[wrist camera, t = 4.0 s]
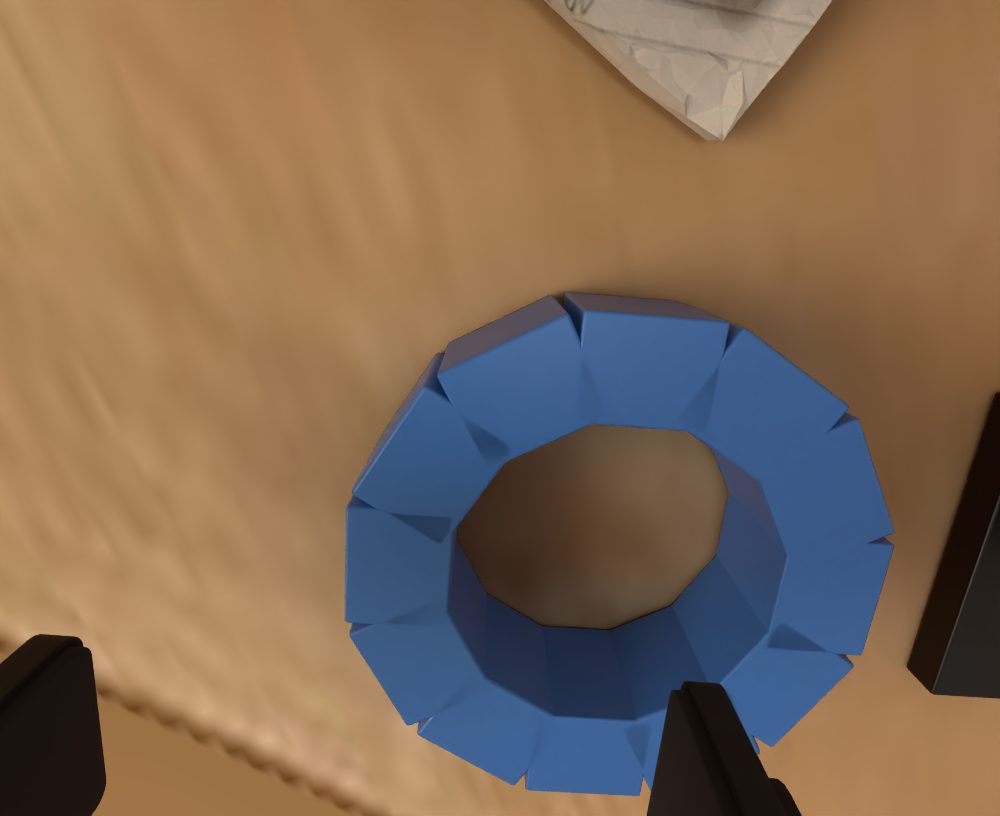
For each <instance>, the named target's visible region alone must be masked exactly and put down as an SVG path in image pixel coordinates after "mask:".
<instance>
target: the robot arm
mask: <svg viewBox="0 0 1000 816" xmlns="http://www.w3.org/2000/svg"><path fill="white" fill-rule="evenodd" d="M105 786H106V773H105V764H104V756H103V747H102V738H101V730H100V722H99V712H98V705H97V695H96V687H95V678H94V669H93V661H92V654H91V651H90V650H89V648H86V647H84V646H83V643H82V641H81V640H80V638H78V637H73V636H60V635H46V634H39V635H35V636H33V637H32V638H30V639H29V640H28V641H26V642H25V643H24V644H23V645H22V646H21V647H19V648H18V649H17V650H16V651H15V652H14V653H12V654H11V655H10V656H9V657H8V658H7V659H5V660H4V661H3V662H2V663H1V664H0V816H91V815H92V814H93V812H94V811H95V810H96V808H97V806H98V805H99V803H100V801H101V799H102V797H103V793H104V790H105ZM647 816H802V815H801V813H800V811H799V810H798V808H797V806H796V804H795V802H794V800H793V798H792V796H791V794H790V793H789V791H788V789H787V788H786V786H785V785H784V784H783V783H782V782H781V781H780V780H778V779H775V778H768V776H767V774H766V772H765V770H764V768H763V766H762V764H761V762H760V760H759V757H758V755H757V753H756V751H755V749H754V747H753V745H752V743H751V741H750V739H749V737H748V735H747V733H746V731H745V729H744V727H743V725H742V723H741V721H740V719H739V717H738V715H737V713H736V711H735V709H734V707H733V705H732V703H731V701H730V699H729V697H728V695H727V693H726V691H725V689H724V687H723V686H722V685H721V684H719V683H710V682H697V681H684V682H683V684H682V686H681V689H680V690H672V691H671V693H670V696H669V702H668V707H667V712H666V717H665V722H664V728H663V733H662V738H661V743H660V749H659V754H658V759H657V764H656V770H655V775H654V780H653V785H652V790H651V796H650V801H649V806H648V811H647Z"/></svg>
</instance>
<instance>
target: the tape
mask: <svg viewBox="0 0 1000 816" xmlns="http://www.w3.org/2000/svg"><path fill="white" fill-rule="evenodd" d="M848 408H849V407H848V405H847V404H846V403H845V402H843V401H842V400H841V399H839V398H838V397H837V396H835V395H834V394H833V393H832V392H830V391H829V390H828V389H826V388H825V387H824V386H822V385H821V384H820V383H818V382H817V381H816V380H814V379H813V378H812V377H810V376H809V375H808V374H806V373H805V372H804V371H802V370H801V369H800V368H798V367H797V366H796V365H794V364H793V363H792V362H790V361H789V360H788V359H786V358H785V357H784V356H782V355H781V354H780V353H778V352H777V351H776V350H774V349H773V348H772V347H771V346H769V345H768V344H767V343H765V342H764V341H763V340H761V339H760V338H759V337H757V336H756V335H755V334H753V333H752V332H751V331H749V330H748V329H746V328H744V327H741V326H739V325H736V324H734V323H731V322H729V321H726V320H724V319H721V318H719V317H716V316H714V315H711V314H709V313H706V312H704V311H701V310H699V309H696V308H694V307H690V306H688V305H685V304H683V303H680V302H678V301H670V300H658V299H646V298H634V297H622V296H610V295H598V294H586V293H574V292H565V293H564V297H563V306H561V305H560V304H559V303H558V302H557V300H556V299H555V298H554V297H553V296H552V295H549V296H547V297H545V298H542V299H540V300H538V301H536V302H534V303H532V304H530V305H528V306H526V307H523V308H521V309H519V310H517V311H515V312H513V313H511V314H509V315H507V316H504V317H502V318H500V319H498V320H496V321H494V322H492V323H490V324H488V325H485V326H483V327H481V328H479V329H477V330H475V331H473V332H471V333H468V334H466V335H464V336H462V337H460V338H458V339H456V340H454V341H452V342H450V343H449V344H448V347H447V349H446V352H445V355H443V354H442V353H437V354H436V355H435V357H434V358H433V360H432V361H431V363H430V364H429V366H428V367H427V369H426V370H425V372H424V373H423V375H422V376H421V377H420V379H419V380H418V382H417V383H416V385H415V386H414V388H413V389H412V391H411V392H410V394H409V395H408V397H407V398H406V400H405V401H404V403H403V404H402V406H401V407H400V409H399V410H398V412H397V413H396V414H395V416H394V417H393V419H392V420H391V422H390V423H389V425H388V426H387V428H386V429H385V431H384V432H383V434H382V435H381V437H380V438H379V440H378V442H377V444H376V446H375V448H374V450H373V452H372V453H371V455H370V457H369V459H368V461H367V463H366V465H365V467H364V469H363V470H362V472H361V474H360V476H359V478H358V480H357V482H356V484H355V486H354V487H353V490H352V493H353V496H352V498H351V500H350V502H349V504H348V506H347V508H346V561H345V621H346V622H348V623H353V624H352V627H351V630H350V633H349V634H350V637H351V639H352V640H353V642H354V644H355V645H356V647H357V648H358V650H359V651H360V653H361V655H362V656H363V658H364V659H365V661H366V662H367V664H368V665H369V667H370V669H371V670H372V672H373V673H374V675H375V676H376V678H377V680H378V681H379V683H380V684H381V686H382V687H383V689H384V690H385V692H386V694H387V695H388V697H389V698H390V700H391V701H392V703H393V705H394V706H395V708H396V709H397V711H398V712H399V714H400V715H401V717H402V719H403V720H404V722H405V723H406V725H412V724H414V723H417V722H419V724H418V731H417V733H418V735H419V736H421V737H423V738H425V739H426V740H428V741H430V742H432V743H434V744H436V745H438V746H440V747H441V748H443V749H445V750H447V751H449V752H451V753H453V754H455V755H456V756H458V757H460V758H462V759H464V760H466V761H468V762H470V763H471V764H473V765H475V766H477V767H479V768H481V769H483V770H485V771H486V772H488V773H490V774H492V775H494V776H496V777H498V778H500V779H501V780H503V781H505V782H507V783H509V784H511V785H515V784H516V783H517V782H518V781H519V779H520V778H521V777H522V776H523V775H524V774H525V787H526V790H534V791H553V792H571V793H590V794H609V795H627V796H639V795H640V791H641V786H642V781H643V777H644V779H645V781H646V783H647V785H648V787H649V789H650V790H652V785H653V780H654V775H655V770H656V764H657V759H658V754H659V749H660V743H661V738H662V733H663V728H664V722H665V717H666V712H667V707H668V702H669V696H670V693H671V691H672V690H680V689H681V686H682V684H683V682H684V681H697V682H710V683H719V684H721V685H722V686H723V687H724V689H725V691H726V693H727V695H728V697H729V699H730V701H731V703H732V705H733V707H734V709H735V711H736V713H737V715H738V717H739V719H740V721H741V723H742V725H743V727H744V729H745V731H746V733H747V735H748V737H749V739H750V741H751V743H752V745H753V747H754V749H755V751H756V753H757V755H758V754H759V753H760V751H759V747H758V745H757V742H756V740H755V738H754V737H756V738H758V739H759V740H761V741H763V742H764V743H766V744H768V745H769V746H771V747H773V746H774V745H775V744H776V743H777V742H778V741H779V740H780V739H781V738H782V737H783V736H784V735H785V734H786V733H787V732H788V731H789V730H790V729H791V728H792V727H793V726H794V725H795V724H796V723H797V722H798V721H799V720H800V719H801V718H802V717H803V716H804V715H806V714H807V713H808V712H809V711H810V710H811V709H812V708H813V707H814V706H815V705H816V704H817V703H818V702H819V701H820V700H821V699H822V698H823V697H824V696H825V695H826V694H827V693H828V692H829V691H830V690H831V689H832V688H833V687H834V686H835V685H836V684H837V683H838V682H839V681H840V680H841V679H842V678H843V677H844V676H845V675H846V674H847V673H848V672H849V671H850V670H851V669H852V668H853V667H854V665H853V664H852V662H851V661H850V660H849V659H848V657H847V656H846V655H845V654H848V655H862V652H863V649H864V645H865V642H866V639H867V635H868V632H869V629H870V625H871V622H872V619H873V615H874V612H875V609H876V605H877V602H878V599H879V595H880V592H881V589H882V585H883V582H884V579H885V575H886V572H887V569H888V565H889V562H890V559H891V555H892V552H893V549H894V545H893V544H892V543H891V542H889V541H888V540H887V539H886V538H884V536H887V535H889V534H892V533H893V532H894V529H893V526H892V523H891V520H890V516H889V513H888V510H887V507H886V504H885V501H884V497H883V494H882V491H881V488H880V485H879V481H878V478H877V475H876V472H875V469H874V466H873V462H872V459H871V456H870V453H869V450H868V446H867V443H866V440H865V437H864V434H863V431H862V427H861V424H860V421H859V419H858V418H856V417H854V416H852V415H850V414H848V413H846V411H847V410H848ZM591 424H599V425H613V426H626V427H639V428H652V429H665V430H678V431H687V432H689V433H690V434H692V435H693V436H694V437H696V438H697V439H699V440H700V441H702V442H703V443H704V444H706V445H707V446H709V447H710V448H712V450H713V452H714V455H715V457H716V460H717V463H718V465H719V468H720V470H721V473H722V475H723V478H724V480H725V483H726V485H727V488H728V490H729V494H728V499H727V504H726V509H725V514H724V518H723V523H722V528H721V533H720V538H719V542H718V547H717V552H716V556H715V557H714V558H713V559H712V560H711V561H710V563H709V564H708V565H707V566H706V567H705V568H704V569H703V570H702V572H701V573H700V574H699V575H698V576H697V577H696V578H695V579H694V581H693V582H692V583H691V584H690V585H689V586H688V587H687V589H686V590H685V591H684V592H683V593H682V594H681V595H680V596H679V598H678V599H677V600H676V601H675V602H674V603H673V604H672V605H671V606H670V607H667V608H665V609H662V610H660V611H657V612H655V613H652V614H650V615H647V616H645V617H642V618H640V619H637V620H635V621H632V622H630V623H627V624H625V625H622V626H620V627H617V628H615V629H612V630H595V629H579V628H564V627H548V626H540V625H539V624H537V623H535V622H534V621H532V620H530V619H528V618H527V617H525V616H523V615H522V614H520V613H518V612H517V611H515V610H513V609H512V608H510V607H508V606H507V605H505V604H503V603H502V602H500V601H498V600H497V599H495V598H493V597H491V596H490V595H488V594H487V593H486V591H485V589H484V588H483V586H482V584H481V582H480V580H479V578H478V577H477V575H476V573H475V571H474V569H473V568H472V566H471V564H470V562H469V560H468V558H467V557H466V555H465V553H464V551H463V549H462V548H461V546H460V544H459V542H458V540H457V538H456V537H457V527H458V525H459V524H460V523H461V521H462V520H463V519H464V517H465V516H466V515H467V513H468V512H469V511H470V509H471V508H472V507H473V505H474V504H475V503H476V501H477V500H478V499H479V497H480V496H481V495H482V493H483V492H484V490H485V489H486V488H487V486H488V485H489V484H490V482H491V481H492V480H493V478H494V477H495V476H496V474H497V473H498V472H499V470H500V469H501V468H502V466H503V465H504V464H505V462H507V461H510V460H512V459H514V458H516V457H519V456H521V455H523V454H525V453H528V452H530V451H532V450H534V449H537V448H539V447H541V446H543V445H546V444H548V443H550V442H552V441H555V440H557V439H559V438H561V437H564V436H566V435H568V434H570V433H573V432H575V431H577V430H579V429H582V428H584V427H586V426H588V425H591Z"/></svg>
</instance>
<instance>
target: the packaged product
mask: <svg viewBox="0 0 1000 816" xmlns="http://www.w3.org/2000/svg"><path fill="white" fill-rule="evenodd" d="M544 1H545V2H546V3H547V4H548V5H549V6H550V7H551V8H552V9H553V10H554V11H555V12H556V13H558V14H559V15H560V16H561V17H562V18H563V19H564V20H565V21H566V22H567V23H568V24H569V25H570V26H571V27H573V28H574V29H575V30H576V31H577V32H578V33H579V34H580V35H581V36H582V37H583V38H584V39H585V40H587V41H588V42H589V43H590V44H591V45H592V46H593V47H594V48H595V49H596V50H597V51H598V52H599V53H600V54H602V55H603V56H604V57H605V58H606V59H607V60H608V61H609V62H610V63H611V64H612V65H613V66H614V67H615V68H617V69H618V70H619V71H620V72H621V73H622V74H623V75H624V76H625V77H626V78H627V79H628V80H629V81H631V82H632V83H633V84H634V85H635V86H636V87H637V88H639V89H640V90H641V91H642V92H644V93H645V94H646V95H648V96H649V97H650V98H652V99H653V100H654V101H655V102H657V103H658V104H659V105H661V106H662V107H663V108H665V109H666V110H667V111H669V112H670V113H671V114H672V115H674V116H675V117H676V118H678V119H679V120H680V121H682V122H683V123H684V124H685V125H687V126H688V127H689V128H691V129H692V130H693V131H695V132H696V133H697V134H699V135H700V136H701V137H702V138H704V139H705V140H724V139H725V138H726V136H727V135H728V133H729V132H730V131H731V129H732V128H733V126H734V125H735V124H736V122H737V121H738V120H739V119H740V117H741V116H742V115H743V114H744V112H745V111H746V110H747V109H748V107H749V106H750V105H751V103H752V102H753V101H754V100H755V98H756V97H757V96H758V95H759V93H760V92H761V91H762V90H763V88H764V87H765V86H766V85H767V83H768V82H769V81H770V80H771V78H772V77H773V76H774V75H775V74H776V73H777V72H778V71H779V69H780V68H781V67H782V66H783V65H784V64H785V63H786V61H787V60H788V59H789V57H790V56H791V55H792V54H793V52H794V51H795V50H796V48H797V47H798V46H799V44H800V43H801V42H802V41H803V39H804V38H805V37H806V35H807V34H808V33H809V32H810V30H811V29H812V28H813V26H814V25H815V24H816V22H817V21H818V20H819V18H820V17H821V16H822V14H823V13H824V11H825V10H826V8H827V7H828V6H829V4H830V3H831V1H832V0H544Z"/></svg>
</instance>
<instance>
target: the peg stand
mask: <svg viewBox="0 0 1000 816" xmlns="http://www.w3.org/2000/svg"><path fill="white" fill-rule="evenodd" d="M907 668H908V670H909V671H910V672H911V673H912V674H913V675H914V676H915V677H916V678H917V679H918V680H919V681H920V682H921V683H922V684H923V686H924V687H925V688H926V689H927V690H928V691H929V692H930V693H932V694H934V695H950V696H967V697H983V698H1000V393H997V394H996V395H995V398H994V401H993V404H992V407H991V410H990V413H989V416H988V419H987V422H986V425H985V428H984V432H983V435H982V438H981V441H980V444H979V447H978V450H977V453H976V456H975V459H974V462H973V465H972V468H971V471H970V474H969V477H968V481H967V484H966V487H965V490H964V493H963V496H962V499H961V502H960V505H959V508H958V511H957V514H956V517H955V520H954V523H953V527H952V530H951V533H950V536H949V539H948V542H947V545H946V548H945V551H944V554H943V557H942V560H941V563H940V566H939V569H938V572H937V576H936V579H935V582H934V585H933V588H932V591H931V594H930V597H929V600H928V603H927V606H926V609H925V612H924V615H923V618H922V621H921V625H920V628H919V631H918V634H917V637H916V640H915V643H914V646H913V649H912V652H911V655H910V658H909V661H908V664H907Z"/></svg>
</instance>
